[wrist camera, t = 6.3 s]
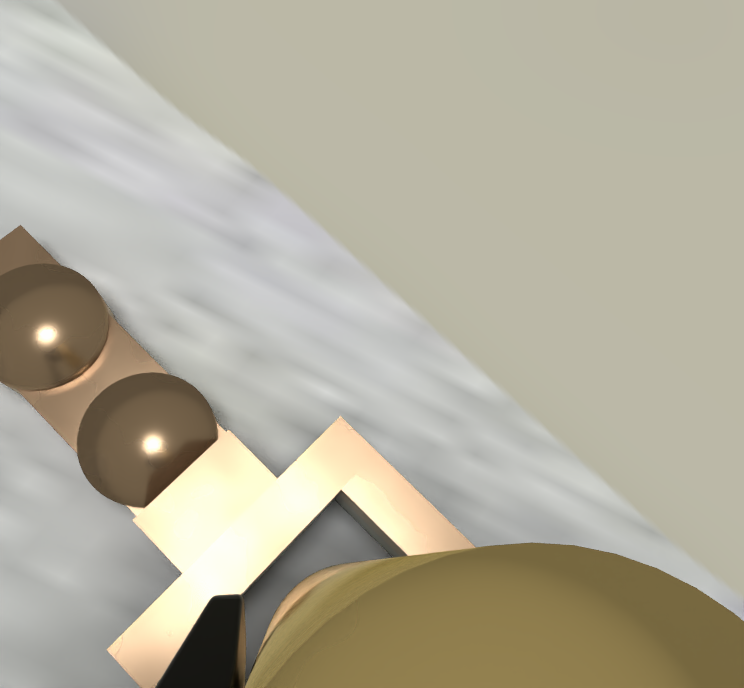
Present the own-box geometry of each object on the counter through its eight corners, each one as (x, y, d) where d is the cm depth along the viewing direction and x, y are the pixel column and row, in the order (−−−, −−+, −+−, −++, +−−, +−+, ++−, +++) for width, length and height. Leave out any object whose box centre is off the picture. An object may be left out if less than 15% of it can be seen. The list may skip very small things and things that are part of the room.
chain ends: (832, 922, 20) (920, 979, 17) (670, 1228, 18) (743, 1354, 15) (95, 201, 25) (70, 153, 22) (-120, 362, 22) (-180, 332, 19)
